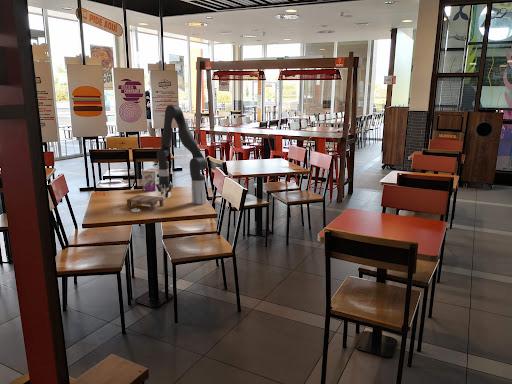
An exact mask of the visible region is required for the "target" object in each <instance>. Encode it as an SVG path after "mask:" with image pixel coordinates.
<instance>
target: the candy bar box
mask: <svg viewBox="0 0 512 384" xmlns="http://www.w3.org/2000/svg"><path fill="white" fill-rule="evenodd" d="M156 184H158V172H157V170H153V169H152V170H150V169H143V170H141V185H142V186H141V187H142V191H143V190H144V189H145V190H147V192H156V191H158V189H157V187H156Z"/></svg>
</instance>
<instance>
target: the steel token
mask: <svg viewBox="0 0 512 384" xmlns="http://www.w3.org/2000/svg"><path fill="white" fill-rule="evenodd" d="M141 209H142V208H140V207H137V208H136V207H135V208H131V213H133V212H137V213H141V212H142V210H141ZM140 211H141V212H140Z"/></svg>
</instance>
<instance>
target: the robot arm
mask: <svg viewBox="0 0 512 384" xmlns="http://www.w3.org/2000/svg"><path fill="white" fill-rule="evenodd" d="M183 112H184V111H183V110H182V108H181V107H180V106H179V105H174V104H169V105H167V106H166V107H165V111H164V119H163V120H164V121H163V131H162V135H161V140H160V144H161V146H160V148H159V149H158V150H157V152H156V159H157V162H158V183H157V184H156V187H157V191H158V192H160V195H161V194H164V193H165V195H166V199H168V198H169V197H168V192H171V191H172V189H173V187H174V185H173V184H171V183H170V171H169V162H168V161H167V157H168V156H169V154H170V150H171V149H170V148H171V143H172V139H173V130H172V123H173V120H175V122H176V124H177V131H178V138H179V140H180V142H181V144H182V145H183V146H184V148H186V149H187V150H188V151H189V152H190V153H191V155H192V158H191V159H190V161H189V175H190V178H191V204H193V205H204V204H206V203H207V193H206V192H207V191H206V187H205V185H206V183H205V175H203V174H201V170H205V169H206V168H207V165H208V164H207V161H206V158H205V156H204V154H203V153H202V152H201V150H200V148H199V146H198V144H197V142H196V140H195V137H194V136H193V134H192V132H191V130H190V128H189V125H188V123H187V121H186V118H185V115H184V113H183ZM167 197H168V198H167Z"/></svg>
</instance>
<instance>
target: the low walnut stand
mask: <svg viewBox="0 0 512 384" xmlns="http://www.w3.org/2000/svg"><path fill="white" fill-rule="evenodd" d="M158 201H159V202H158ZM155 202H158V203H159V207H164V206H165V205H164V204H165V203H164V200H163V197H157V196H154V195H153V196H152V195H144V194H143V195H142V194H137V195H135V196H132V197H129V198H127V199H126V208H127V209H133V208H132V203H136V204H137V205H141V204H142V203H143V204H147V203H150V204H149V207H150V212H151V211H152V212H153V211H155V209H156V207H155V205H156V204H154V203H155Z"/></svg>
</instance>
